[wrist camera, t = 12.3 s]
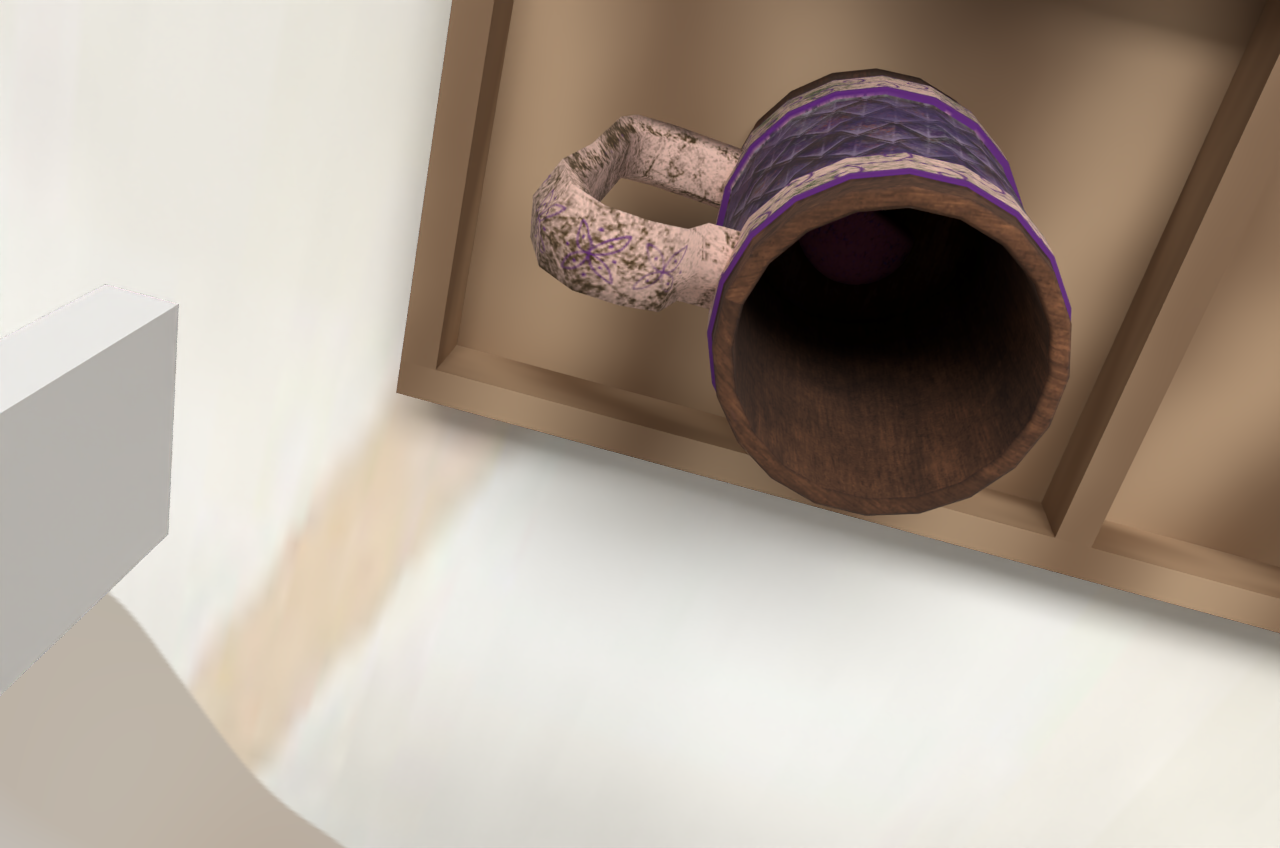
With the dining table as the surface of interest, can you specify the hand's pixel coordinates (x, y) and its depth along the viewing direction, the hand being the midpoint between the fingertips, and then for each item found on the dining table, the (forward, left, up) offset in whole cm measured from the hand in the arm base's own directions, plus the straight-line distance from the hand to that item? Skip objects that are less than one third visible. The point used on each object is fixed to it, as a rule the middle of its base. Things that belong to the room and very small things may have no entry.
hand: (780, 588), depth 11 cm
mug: (0, 0, -20) cm, 20 cm away
